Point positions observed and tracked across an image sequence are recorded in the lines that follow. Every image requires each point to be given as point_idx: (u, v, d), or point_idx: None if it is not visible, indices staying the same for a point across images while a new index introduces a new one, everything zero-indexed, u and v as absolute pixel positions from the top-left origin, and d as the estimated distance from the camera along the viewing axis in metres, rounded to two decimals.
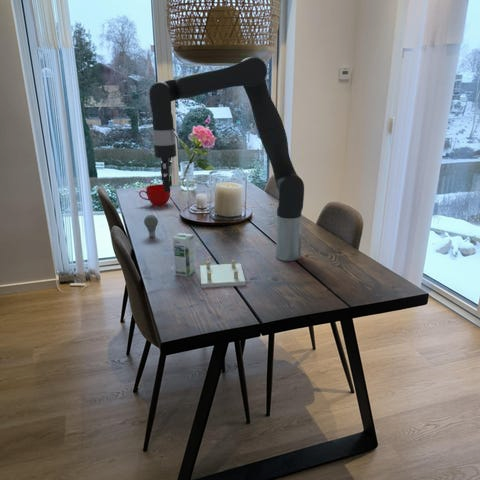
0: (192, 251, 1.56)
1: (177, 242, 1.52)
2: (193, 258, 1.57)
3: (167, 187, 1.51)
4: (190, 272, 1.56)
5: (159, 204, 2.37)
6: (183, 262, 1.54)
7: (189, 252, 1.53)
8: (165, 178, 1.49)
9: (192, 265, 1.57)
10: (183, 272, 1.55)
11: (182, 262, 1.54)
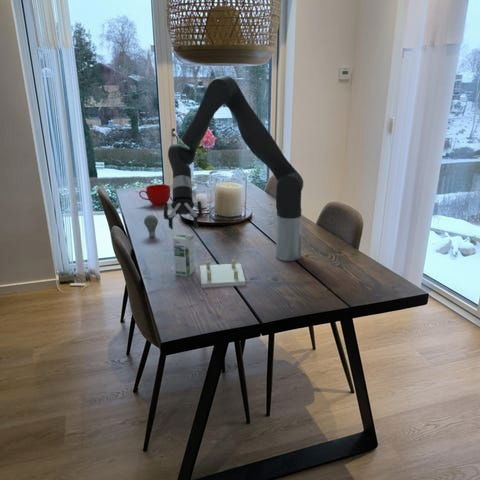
0: (192, 251, 1.56)
1: (177, 242, 1.52)
2: (193, 258, 1.57)
3: None
4: (190, 272, 1.56)
5: (159, 204, 2.37)
6: (183, 262, 1.54)
7: (189, 252, 1.53)
8: None
9: (192, 265, 1.57)
10: (183, 272, 1.55)
11: (182, 262, 1.54)
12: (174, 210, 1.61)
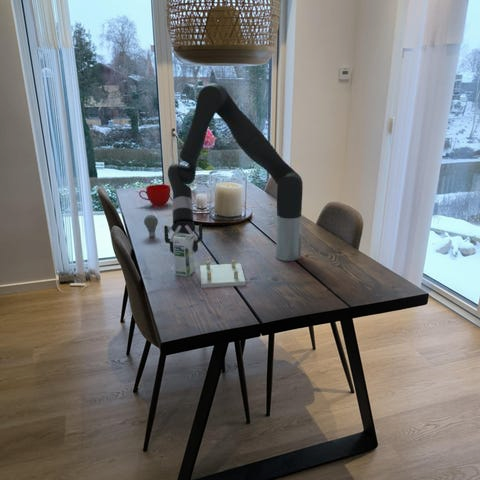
0: (192, 251, 1.56)
1: (177, 242, 1.52)
2: (193, 258, 1.57)
3: None
4: (190, 272, 1.56)
5: (159, 204, 2.37)
6: (183, 262, 1.54)
7: (189, 252, 1.53)
8: None
9: (192, 265, 1.57)
10: (183, 272, 1.55)
11: (182, 262, 1.54)
12: (175, 233, 1.56)
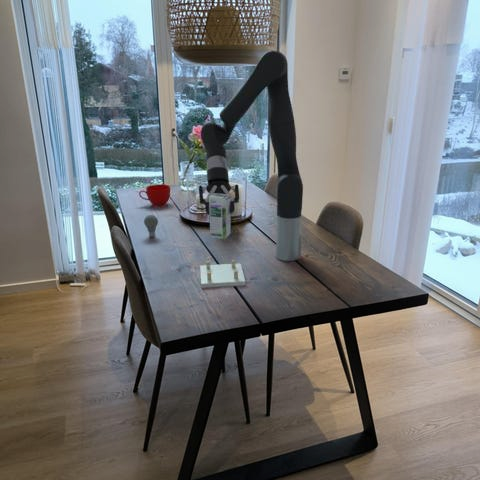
0: (228, 212, 1.48)
1: (214, 202, 1.44)
2: (229, 220, 1.50)
3: None
4: (226, 234, 1.48)
5: (159, 204, 2.37)
6: (219, 223, 1.46)
7: (226, 212, 1.45)
8: None
9: (228, 227, 1.49)
10: (219, 234, 1.48)
11: (218, 223, 1.46)
12: (210, 193, 1.48)
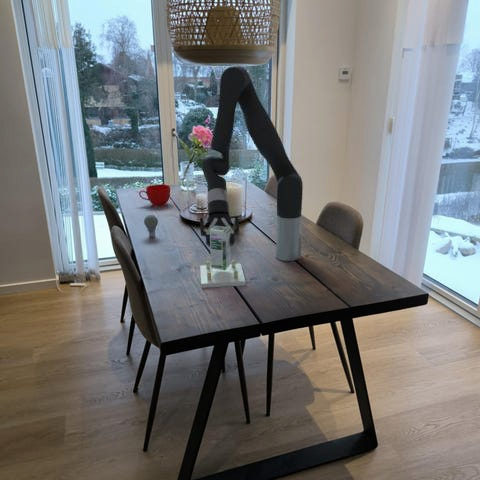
0: (228, 244, 1.52)
1: (214, 235, 1.48)
2: (229, 251, 1.54)
3: (206, 241, 1.52)
4: (226, 266, 1.52)
5: (159, 204, 2.37)
6: (219, 255, 1.50)
7: (226, 245, 1.50)
8: None
9: (228, 259, 1.53)
10: (219, 266, 1.52)
11: (218, 255, 1.50)
12: (211, 226, 1.52)
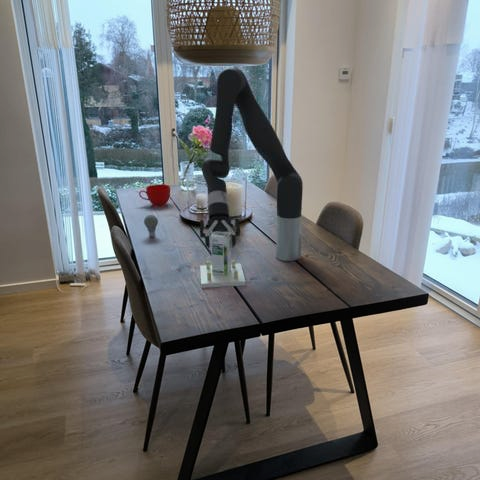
0: (229, 249, 1.53)
1: (215, 240, 1.49)
2: (230, 256, 1.55)
3: (205, 243, 1.52)
4: (227, 271, 1.53)
5: (159, 204, 2.37)
6: (221, 261, 1.51)
7: (227, 250, 1.51)
8: None
9: (229, 264, 1.54)
10: (221, 271, 1.52)
11: (219, 260, 1.51)
12: (211, 228, 1.53)
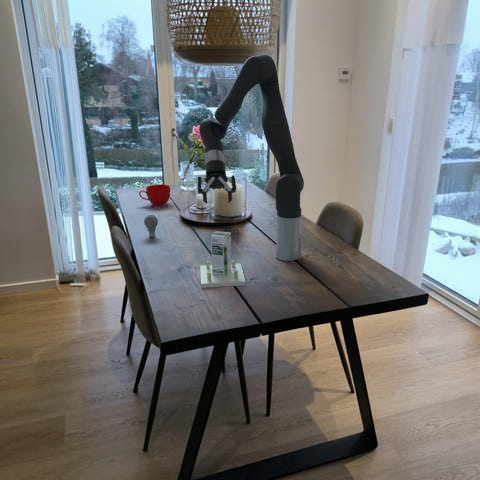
0: (229, 249, 1.53)
1: (215, 240, 1.49)
2: (230, 256, 1.55)
3: (203, 198, 1.59)
4: (227, 271, 1.53)
5: (159, 204, 2.37)
6: (221, 261, 1.51)
7: (227, 250, 1.51)
8: None
9: (229, 264, 1.54)
10: (221, 271, 1.52)
11: (219, 260, 1.51)
12: (208, 184, 1.60)
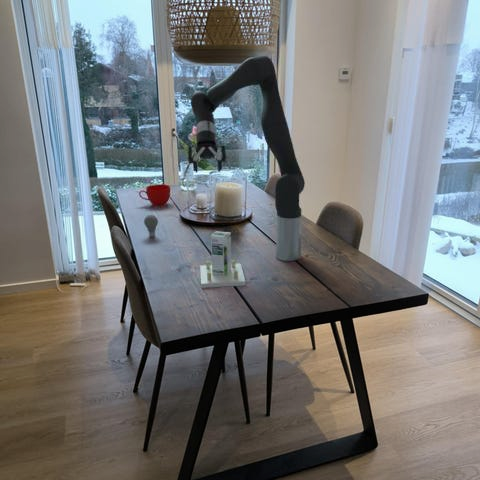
0: (229, 249, 1.53)
1: (215, 240, 1.49)
2: (230, 256, 1.55)
3: None
4: (227, 271, 1.53)
5: (159, 204, 2.37)
6: (221, 261, 1.51)
7: (227, 250, 1.51)
8: None
9: (229, 264, 1.54)
10: (221, 271, 1.52)
11: (219, 260, 1.51)
12: (198, 153, 1.64)
